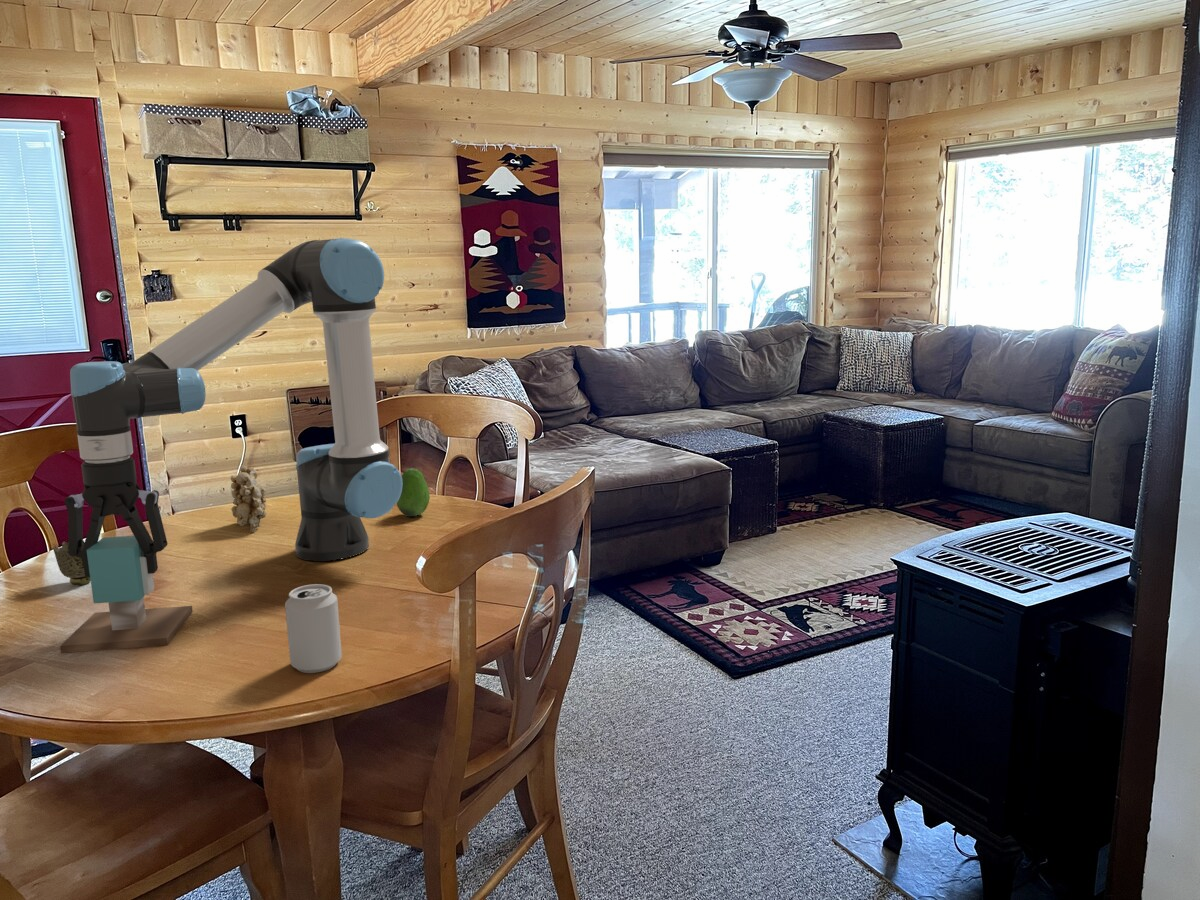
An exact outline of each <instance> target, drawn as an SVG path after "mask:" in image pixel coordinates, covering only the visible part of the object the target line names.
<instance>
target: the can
mask: <svg viewBox="0 0 1200 900" xmlns="http://www.w3.org/2000/svg"><path fill="white" fill-rule="evenodd" d="M338 603H339V602H338V596H337V595H336V594H335V593H333V588H332V587H331V586H330V585H328V584H320V583H319V584H317V583H314V584H312V583H311V584H307V585H306V584H305V585H302V586H298V587H295V588H294V589H292V590H291V591H290V592H289V593H288V598H287V600H286V601H285V604H284V607H285V619H286V628H287V629H286V630H287V639H288V640H287V641H288V650H289V652H288V653H289V660H290V661H289V662H290V665H291V666H292V667H293V668H294V669H296V671H299V672H301V673H305V674H314V673H316V674H317V673H320V672H326V671H328V670H331V669H332V668H334V667H335V666H336V664H338V663H339V661H340V660H341V659H342V643H341V642H342V641H341V630H340V616H339V605H338Z"/></svg>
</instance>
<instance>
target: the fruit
mask: <svg viewBox="0 0 1200 900" xmlns="http://www.w3.org/2000/svg"><path fill="white" fill-rule="evenodd" d="M401 477H402V483H403V486H402V492H401V496H400V498H399V500H398V502H397V503H396V506H397V508H398V510H399V511H400V512H401V513H402V515H404V516H406V515H407V516H406V517H410V516H415V517H418V516H417V515H419V516H421V515H422V514H423V513H425V512H426V509H427V508H428V506H429V504H430V498H431V497H430V496H431V495H430V489H429V486H428V483H427V482H426V480H425V476H424V474H423V472H422V471H420V470H419V469H417V468H414V467H409V468H407V469H405V471H404V472H403V473H402V474H401Z"/></svg>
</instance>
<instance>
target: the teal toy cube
mask: <svg viewBox="0 0 1200 900" xmlns="http://www.w3.org/2000/svg"><path fill="white" fill-rule="evenodd" d="M143 554H144V553H143V551H142V549H141V547H140V545H139V543H138V542H137V540H136V538H135V536H134V535H123V536H105V537H102V538H101V539H100V540H99V539H98V542H97V543H95V544H94V545H93V546H92V547H90V548H89V549H88V550H87V557H88V565H89V572H90V580H91V581H90V586H91V593H92V594H91V595H92V601H93V604H105V603H106V604H107V603H108V602H123V601H138V600H141V599H142V598H143V597H144V598H145V595H144V589H143V581H142V573H141V564H140V556H142V555H143ZM152 574H153V575H154V573H152ZM153 582H154V580H153Z"/></svg>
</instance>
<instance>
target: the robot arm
mask: <svg viewBox="0 0 1200 900" xmlns="http://www.w3.org/2000/svg"><path fill="white" fill-rule="evenodd" d="M384 282H385V271H384V265H383V262H382V260H381V259H380V256H379V255H378V254H377V252H376V251H375V249H373V248H372V247H371V246H369V245H368V244H367V243H365V242H363V241H362V240H359V239H353V238H348V237H347V238H346V237H345V238H344V237H339V238H330V239H313V240H308V241H307V240H306V241H304V242H302V243H300V244H298V245H296V246H294V247H293V248H291V249H289V250H288V251H287V252H285V253H284V254H282V255H281V256H279V257H278V258H276V259H275V260H274V261H272V262H271V263H269V264H268V265H266V266H264V267H263V268H262V269H260V270H258V272H257V279H255V280H254V281H253V282H251V283H250V284H248V285H246V286H245V287H244V288H242V289H240V290H239V291H237V292H236V293H234V294H233V295H231V296H230V297H228V298H227V299H225V300H224V301H222V302H221V303H220V304H218V305H217V306H215V307H214V308H213V307H212V308H211V310H209V311H207V312H206V313H204V314H202V315H201V316H199V317H198V318H197V319H196V320H194V321H192V322H191V323H190V324H187V326H185V327H183V328H182V329H181V330H179V331H178V332H176V333H174V334H173V335H171V336H170V337H169V338H167V339H166V340H164V341H162V342H161V343H159V344H158V345H156V346H155V347H153V348H152V349H151V350H149V351H147V352H146V353H144V354H143V355H141V356H139V357H138V358H136V359H135V360H134V361H131V362H125V363H121V362H119V361H115V360H114V361H110V360H108V361H88V362H80V363H77V364H75V365H73V366H72V367H71V368H70V370H69V371H70V372H69V374H70V375H69V376H70V396H71V397H72V399H71V400H72V405H73V411H74V418H75V423H76V432H77V433H76V434H77V443H78V450H79V458H80V459H81V460H83V461H82V463H81V464H80V467H81V473H82V475H81V476H82V480H83V481H82V482H83V485H84V488H83V491H82V493H80V494H79V493H78V494H75V493H73V494H71V495H69V496H67V497H65V498H64V500H63V501H64V504H65V507H66V510H67V512H68V516H67V517H68V518H67V519H68V520H67V521H68V531H67V532H68V536H67V537H68V541H67V543H68V553H69V555H70V556H72V557H73V556H77V557H80V558H82V560H83V565H84V572H85V576H86V577H90V572H89V565H88V557H87V550H88V549H89V548H90V547H92V546H93V545H94V544H95V543H97V542H98V541H99V539H100V536H101V532H102V528H103V525H104V522H105V518H106V517H108V516H111V515H113V516H121V518H122V519H123V520H124V521H125V522H126V524H127V525H128V527H129V529H130V530H131V532H132V534H133V536H135V538H136V540H137V542H138V543H139V545H140V547H141V549H142V551H143V553H144V554H143V555H142V556H140V564H141V573H142V581H143V589H144V595H146V596H147V595H150V594H151V593H152V592H153V591H154V590H155V583H154V582H153V581H154V574H155V573H156V572H157V571H158V568H159V566H158V559H157V558H158V557H157V553H159V552H162V551H163V550H165V548H166V547H167V546H168V540H167V539H168V538H167V536H166V531H165V528H164V523H163V520H162V516H161V511H160V507H159V498H160V497H159V496H160V492H159V491H158V490H156V489H153V490H152V491H148V490H142V488H140V486H139V485H138V483H137V472H136V464H135V459H134V458H133V457H132V456H131V455H133V453H134V447H133V438H132V431H131V429H132V428H131V423H130V422H131V419H140V418H146V417H157V416H167V415H175V414H176V415H178V414H183V415H184V414H186V413H190V412H197V411H199V410H200V409H202V408H203V407H204V405H205V403H206V398H207V397H206V386H205V382H204V379H203V377H202V375H201V373H200V372H199V371H200V370H201V369H203V368H204V367H205V366H207V365H208V364H210V363H211V362H213V361H214V360H216V359H217V358H218V357H220V356H221V355H223V354H225V352H227V351H228V350H230V349H232V348H233V347H234V346H236V345H238V344H239V343H240V342H241V341H243V340H244V339H246V338H247V337H249V336H250V335H252V334H253V333H254V332H256V331H257V330H259V329H260V328H261V327H263V326H265V325H266V324H268V323H269V322H271V320H273V319H274V318H276V317H277V316H279V315H280V314H282V313H289V314H290V313H292V312H294V311H295V310H297V309H298V308H300V307H302V306H304V305H306V304H310V303H311V305H312V310H313V311H312V313H313V314H314V315H315V316H316V317H317V318H319V319H320V320H321V322H322V328H323V339H324V348H325V357H326V367H327V374H328V385H329V393H330V395H329V396H330V405H331V413H332V423H333V433H334V441H335V442H334V443H328V444H320V445H314V446H308V447H304V448H301V449H300V450H299V451H297V453H296V462H295V463H296V465H295V469H296V474H297V483H298V485H297V487H298V495H299V505H300V515H301V520H300V524H299V528H298V531H297V536H296V539H295V544H294V548H295V550H294V551H295V555H296V556H297V558H299V559H301V560H305V561H309V560H313V561H312V562H327V561H326V560H333V561H337V560H336V559H340V560H342V559H341V558H346V557H350V556H353V555H356V554H359V553H361V552H363V551H365V550H366V549H367V548H368V547H369V548H370V542H369V541H370V540H369V535H368V533H367V530H366V528H365V526H364V524H363V520H362V518H364V519H377V518H381V517H382V516H383V517H384V516H385V515H387V514H388V513H390V512H391V510H392V509H393V508H394V507H395V505H397V502H398V500H399V498H400V496H401V492H402V486H403V483H402V474H401V472H400V471H399V470H398V469H397V467H396V465H394V464H393V463H391V461H390V460H391V459H390V449H389V446H388V444H386V443H385V442H383V440H381V436H380V425H379V415H378V404H377V394H376V384H375V381H376V380H375V372H374V363H373V351H372V339H371V331H370V330H371V329H370V318H371V316H373V314H374V313H375V312H376V310H377V308H376V306H377V305H376V297H377V296H379V293H380V291H381V290H382V288H383V286H384V284H385V283H384ZM139 498H140V499H141V503H142V504H143V505H145V508H144V509H145V514H146V518H147V522H148V526H149V530H150V533H149V531H148V530H147V527H146V526H145V523H144V522H143V520H142V519H141V516H140V514H139V510H138V507H137V506H136V502H137V501H138V499H139ZM85 502H86V503H87V504H88V506H90V507H91V508H92V511H91V514H90V518H89V519H90V522H89V525H88V530H87V532H86V537H85V540H84V539H83V538H84V535H83V534H84V533H83V532H84V531H83V529H84V527H83V526H84V524H83V523H84V520H83V519H84V517H83V516H84V515H83V506H85V505H84V504H85ZM150 534H151V535H150ZM151 536H152V537H151ZM83 540H84V547H83ZM369 548H368V549H369ZM365 552H366V551H365ZM359 555H360V554H359ZM350 558H351V557H350ZM346 559H347V558H346ZM152 573H153V574H152Z"/></svg>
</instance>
